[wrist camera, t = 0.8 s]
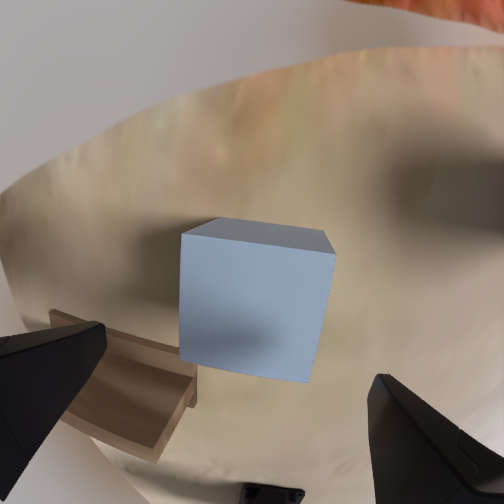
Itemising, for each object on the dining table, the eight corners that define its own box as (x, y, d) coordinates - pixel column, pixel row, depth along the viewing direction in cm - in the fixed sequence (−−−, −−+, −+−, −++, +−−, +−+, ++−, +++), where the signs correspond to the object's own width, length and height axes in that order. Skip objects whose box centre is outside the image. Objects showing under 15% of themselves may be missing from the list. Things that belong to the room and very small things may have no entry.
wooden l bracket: (196, 402, 21) (159, 477, 13) (63, 355, 22) (11, 397, 15) (197, 352, 19) (149, 430, 12) (54, 309, 21) (-9, 347, 13)
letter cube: (306, 325, 18) (307, 384, 12) (213, 310, 19) (179, 361, 13) (323, 230, 16) (336, 254, 11) (220, 217, 17) (181, 233, 11)
